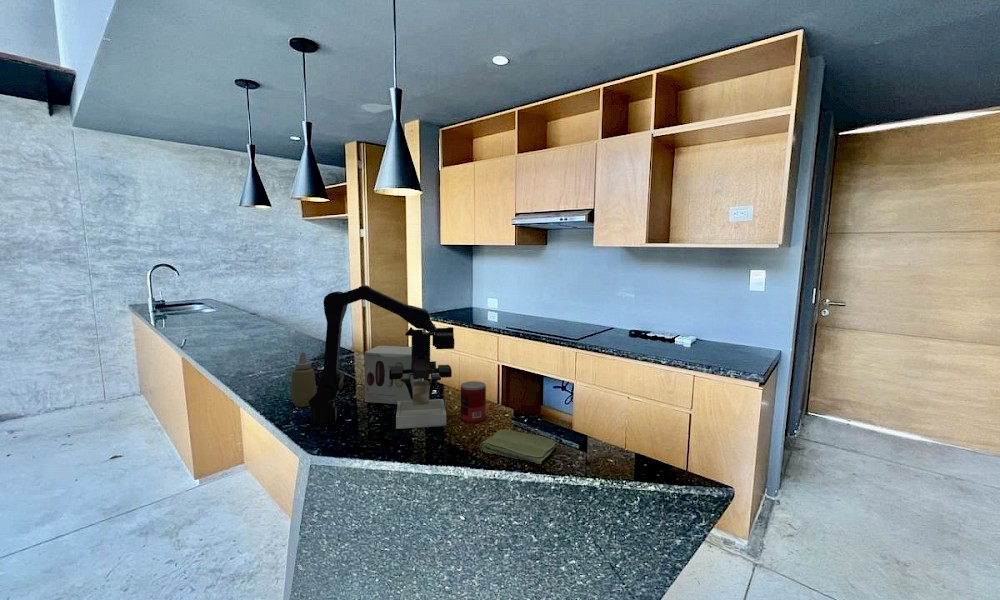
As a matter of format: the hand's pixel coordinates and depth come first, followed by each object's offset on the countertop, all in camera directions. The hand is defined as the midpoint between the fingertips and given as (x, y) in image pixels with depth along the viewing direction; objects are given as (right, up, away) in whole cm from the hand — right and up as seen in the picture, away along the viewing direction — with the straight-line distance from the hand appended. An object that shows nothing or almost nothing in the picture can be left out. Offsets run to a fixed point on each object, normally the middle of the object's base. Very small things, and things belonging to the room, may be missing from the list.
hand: (420, 398), depth 128 cm
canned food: (+16, -7, +1) cm, 18 cm away
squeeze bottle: (-42, -5, +12) cm, 44 cm away
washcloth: (+30, -9, -21) cm, 37 cm away
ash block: (0, -1, 0) cm, 1 cm away
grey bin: (0, -6, 0) cm, 6 cm away
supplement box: (-13, -5, +20) cm, 25 cm away
